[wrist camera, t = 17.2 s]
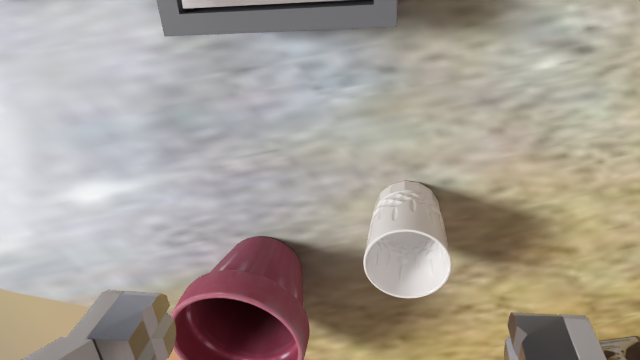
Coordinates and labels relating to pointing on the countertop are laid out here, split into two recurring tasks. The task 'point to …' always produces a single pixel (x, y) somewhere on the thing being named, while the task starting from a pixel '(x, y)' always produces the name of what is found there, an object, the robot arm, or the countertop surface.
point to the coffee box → (621, 349)
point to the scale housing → (276, 17)
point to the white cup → (407, 242)
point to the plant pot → (245, 307)
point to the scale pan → (238, 2)
